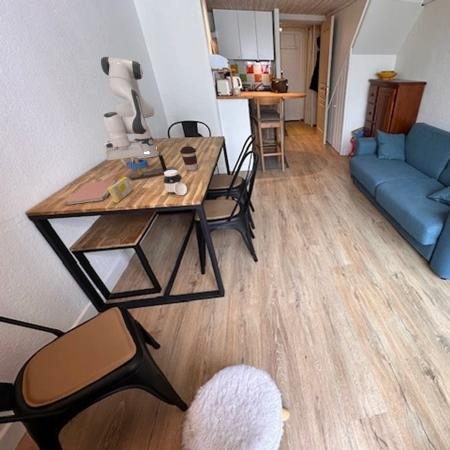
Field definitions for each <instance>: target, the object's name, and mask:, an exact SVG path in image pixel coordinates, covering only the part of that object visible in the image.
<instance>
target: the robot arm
mask: <svg viewBox="0 0 450 450" xmlns="http://www.w3.org/2000/svg"><path fill="white" fill-rule="evenodd" d="M100 67H101V70H102V72H103V73H104V74H105V75H106V76H108V85H109V89H110V90H111V92H112V93H113V94H114V95H115V96H117V97H119V98H121V99H123V100H126V101H129V102H123V103H119V104H116V105H115V106H114V107H113V110H114V111H110V112H106V113H104V114H103V117H102V118H103V121H104V122H103V123H104V125H105V128H106V131H107V133H108V134H109V139H110V140H108V141H105V142H104V143H103V148H104V150H103V151H104V152H103V153H104V156H105V160H107V161H109V162H110V161H117V160H120V161H121V162H122V163H123V164H124V166H125V167H127V166H128V164H127V162H128V161H125V159H130V161H131V160H132V161H131V162H130V163H133V160H134V159H135V158H138V159H150V158H154V157H157V156H158V155H160V152H159V150H158V148H157V146H156V143H155V142H154V138H153V136H152V133H151V131H150V130H151V129H150V128H149V126H148V124H147V121H146V119H149V118H151V117H153V116H155V108H154V106H153V105H152V104H151V103H150V102H149V101H147V100H145V99H144V98H143V96H142V94H141V91H140V86H139V82H138V80H142V78H143V76H144V70H143V67H142V65H141V64H140V63H139V62H138V61H137V60H130V59H126V58H122V57H109V56H103V57H102V58H100ZM128 135H134V139H133V140H132V141H130V139H129V136H128ZM158 157H159V156H158Z"/></svg>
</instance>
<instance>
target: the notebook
mask: <svg viewBox="0 0 450 450" xmlns="http://www.w3.org/2000/svg"><path fill="white" fill-rule="evenodd" d="M116 180H117V179H111V180H110V179H109V180H101V181H93V182H92V181H91V182H85V183H83V184H82V185H81V186H80V188H78V190H76V192H74V193H73V194H72V195H71V196H69V198H68V199H67V200H66V201H65V203H66V205H67V206H69V205H76V204H84V203H92V202H100V201H101V202H102V201H104V200H105V199H107V197H109V194H110V192H109V190H108V188H109V187H111V186H112V185H114V184H115V183H117V182H118V181H116Z"/></svg>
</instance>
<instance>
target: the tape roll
mask: <svg viewBox="0 0 450 450" xmlns="http://www.w3.org/2000/svg"><path fill="white" fill-rule="evenodd" d="M138 159H139V158H138ZM131 161H132V159H130V160H129V161H126V162H127V164H128V169H129V170H138V169H141V168H142V169H145V168H147V167H149V163H148V160H147V159H146V158H142V159H139V162H140V163H135V161H134V160H133V163H130V162H131Z"/></svg>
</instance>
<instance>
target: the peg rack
mask: <svg viewBox="0 0 450 450" xmlns="http://www.w3.org/2000/svg"><path fill="white" fill-rule="evenodd" d="M158 158H159V162H160V166H161V167H160V168H156V169H149V170H143V168H141V169H137V172H131V173H130V180H131V181H136V180H142V179H147V178H153V177H154V178H155V177H159V176H165V175H164V172H165V171H168V170H176V169H175V167H174V166H168V167H167V166H166V163H165V159H164V156H163V154H159V155H158ZM134 161H135V163H140V162H139V158H135V157H134Z"/></svg>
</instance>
